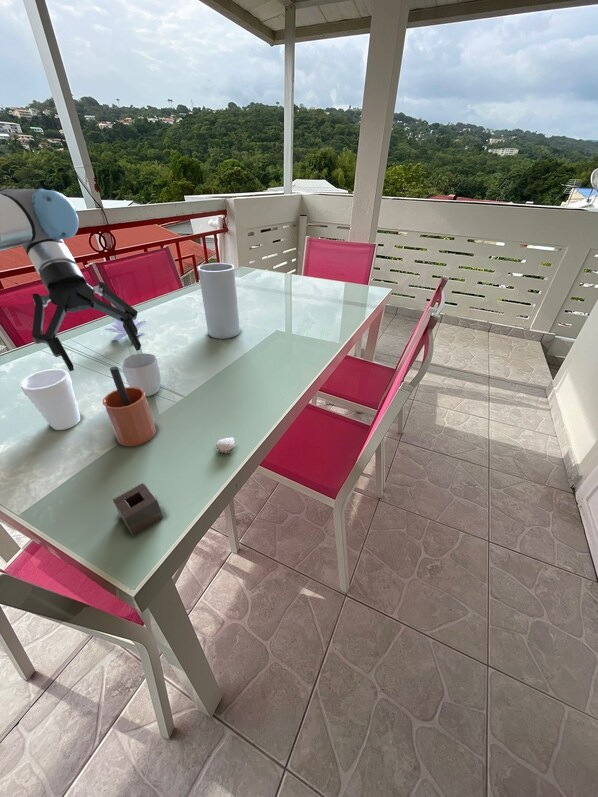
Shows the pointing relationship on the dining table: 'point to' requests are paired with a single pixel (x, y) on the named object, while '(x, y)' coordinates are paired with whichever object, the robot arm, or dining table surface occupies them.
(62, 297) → the robot arm
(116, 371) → the rod
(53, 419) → the foam cup
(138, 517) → the holder
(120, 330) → the water lily
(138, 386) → the mug
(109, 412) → the tumbler
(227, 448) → the white seashell
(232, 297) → the cylinder vase
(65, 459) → the dining table surface
